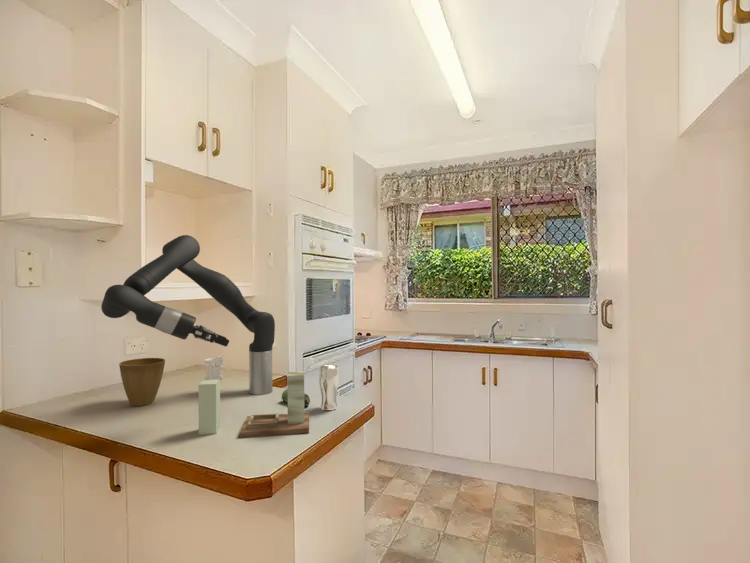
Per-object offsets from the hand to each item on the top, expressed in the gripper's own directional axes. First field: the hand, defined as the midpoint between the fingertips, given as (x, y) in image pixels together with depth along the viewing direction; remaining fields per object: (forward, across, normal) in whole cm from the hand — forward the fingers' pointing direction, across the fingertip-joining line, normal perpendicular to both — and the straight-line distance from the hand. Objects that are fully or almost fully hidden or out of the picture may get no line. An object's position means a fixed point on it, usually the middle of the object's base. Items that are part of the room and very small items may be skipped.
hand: (226, 342), depth 124 cm
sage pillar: (+6, -4, +26) cm, 27 cm away
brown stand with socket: (+24, -10, +18) cm, 31 cm away
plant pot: (-13, +38, +34) cm, 52 cm away
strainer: (+10, +40, +23) cm, 47 cm away
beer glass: (+42, 0, +9) cm, 43 cm away
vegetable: (+34, +10, +13) cm, 38 cm away
